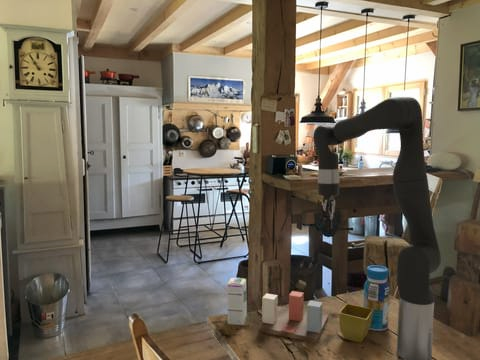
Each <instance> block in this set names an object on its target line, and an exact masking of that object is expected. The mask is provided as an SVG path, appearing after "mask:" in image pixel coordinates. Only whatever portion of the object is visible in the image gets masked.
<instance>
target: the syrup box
mask: <svg viewBox="0 0 480 360" xmlns="http://www.w3.org/2000/svg"><path fill="white" fill-rule="evenodd" d="M247 297H248V295H247V278H244V277H230V279H229V280H228V282H227V283H226V307H227V308H226V310H227V311H226V312H227V313H226V314H227V317H226V318H227V324H228V325H233V326H234V325H235V326H244V325H245V323H246V321H247V319H248V307H247V306H248V304H247V303H248V300H247Z"/></svg>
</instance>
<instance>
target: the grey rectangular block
mask: <svg viewBox="0 0 480 360" xmlns="http://www.w3.org/2000/svg"><path fill="white" fill-rule="evenodd" d="M306 311H307V331H310V332H316V333H319V332H320V330H321V328H322V314H323V302H322V301H315V300H309V301H308V302H307V305H306Z"/></svg>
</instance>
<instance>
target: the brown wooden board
mask: <svg viewBox="0 0 480 360" xmlns="http://www.w3.org/2000/svg"><path fill="white" fill-rule="evenodd" d="M328 321H329V314H326V313H322V328H321V330H320V332H319V333H316V332H310V331H307V310H303V318H302V320H301V321H295V320H290V319H289V307H287V306H286V307H284V306H279V305H278V309H277V321H276V322H275V323H274V324H269V323H263V322H261V324H260V325H259V327H258V332H261V333H264V334H265V333H266V334H269V335H270V334H271V335H275V336H281V337H285V338H290V339H296V340H301V341H306V342H309V343H315V344H317V343H318V341H319V340H320V337H321V335H322V333H323V330H324V329H325V326H326V325H327V323H328Z"/></svg>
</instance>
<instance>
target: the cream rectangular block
mask: <svg viewBox="0 0 480 360" xmlns="http://www.w3.org/2000/svg"><path fill="white" fill-rule="evenodd" d="M278 300H279V296H278V294H272V293H268V292H267V293H265V294H264V295H263V296H262V299H261V303H262V304H261V306H262V310H261V323H269V324H274V323H275V322H276V321H277V309H278V306H279V305H278V303H279V302H278Z"/></svg>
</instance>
